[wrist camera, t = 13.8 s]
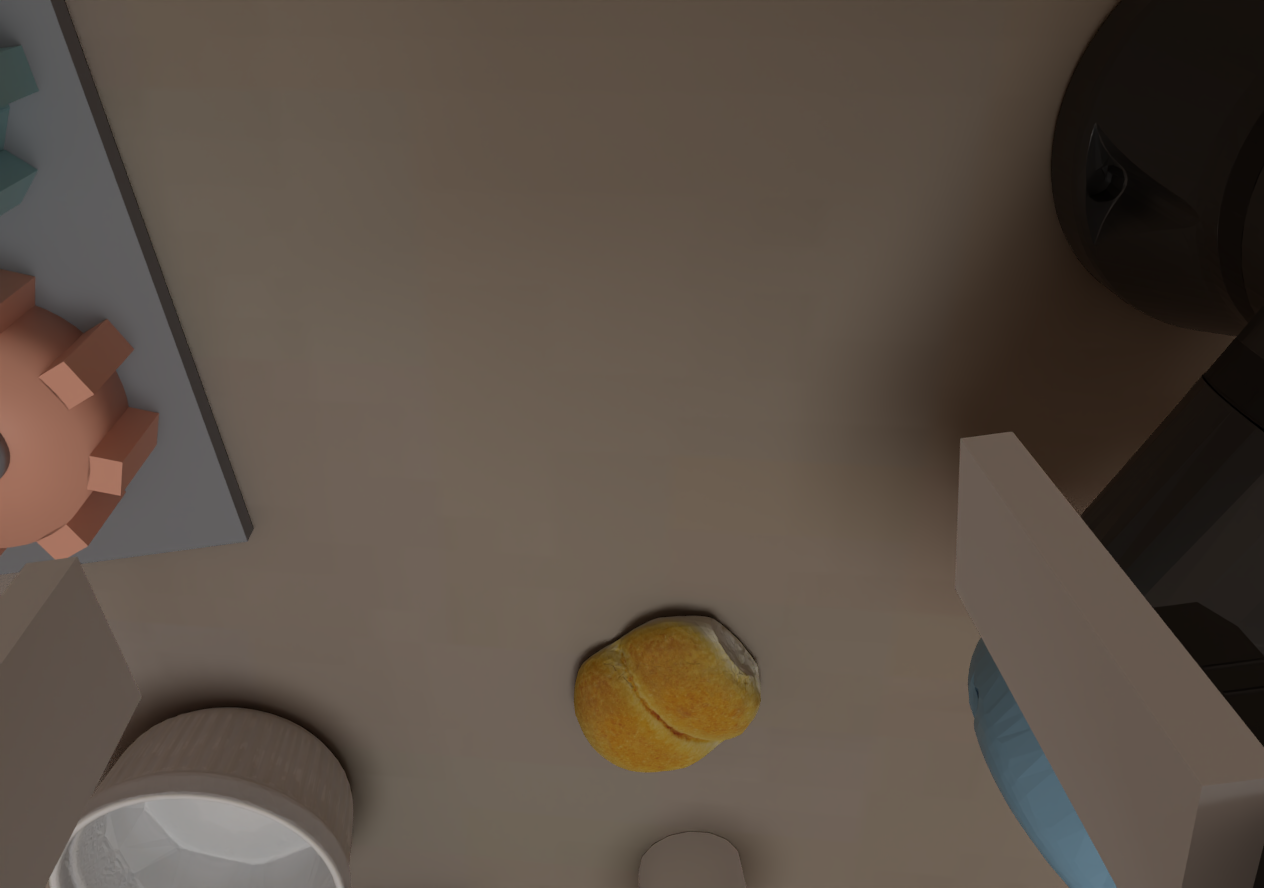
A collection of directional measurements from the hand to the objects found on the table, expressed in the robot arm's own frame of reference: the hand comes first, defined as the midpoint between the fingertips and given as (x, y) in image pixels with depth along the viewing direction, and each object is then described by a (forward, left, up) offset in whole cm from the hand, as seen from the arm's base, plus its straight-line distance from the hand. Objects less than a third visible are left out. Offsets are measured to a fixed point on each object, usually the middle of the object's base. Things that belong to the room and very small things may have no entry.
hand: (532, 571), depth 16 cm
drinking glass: (+30, +27, -27) cm, 48 cm away
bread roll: (+19, +18, -27) cm, 38 cm away
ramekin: (+36, +3, -27) cm, 45 cm away
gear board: (+15, -17, -27) cm, 35 cm away
